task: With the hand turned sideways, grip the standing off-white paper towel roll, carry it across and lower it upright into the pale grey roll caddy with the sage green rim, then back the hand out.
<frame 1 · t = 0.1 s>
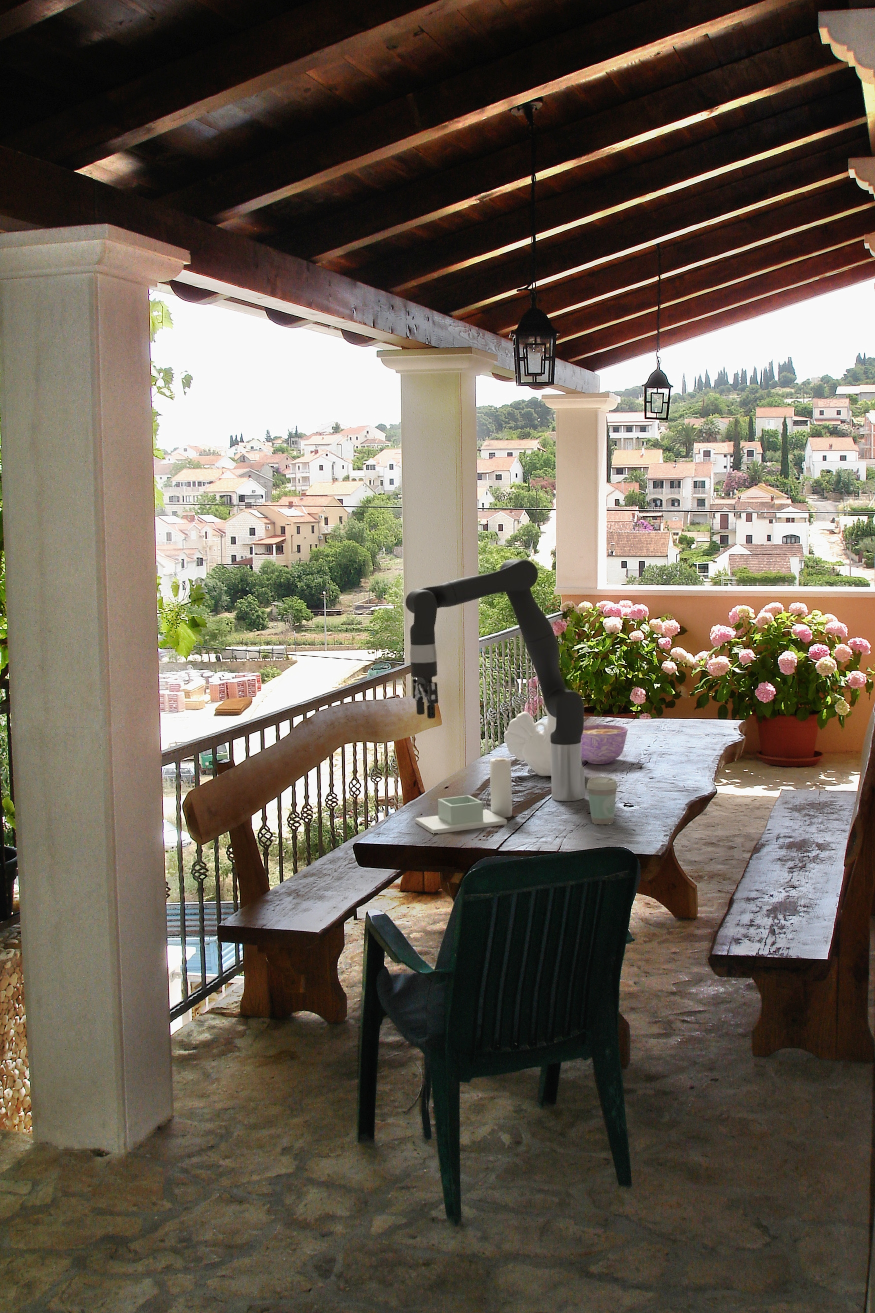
hand: (425, 716, 318), 29 cm above the table, tool pointing down, fingers open, 8 cm apart
roll caddy: (460, 823, 312), on the table
paper roll: (501, 815, 320), on the table
decorative rooster: (543, 774, 374), on the table
bowl of food: (599, 762, 391), on the table
coffee cup: (602, 823, 308), on the table
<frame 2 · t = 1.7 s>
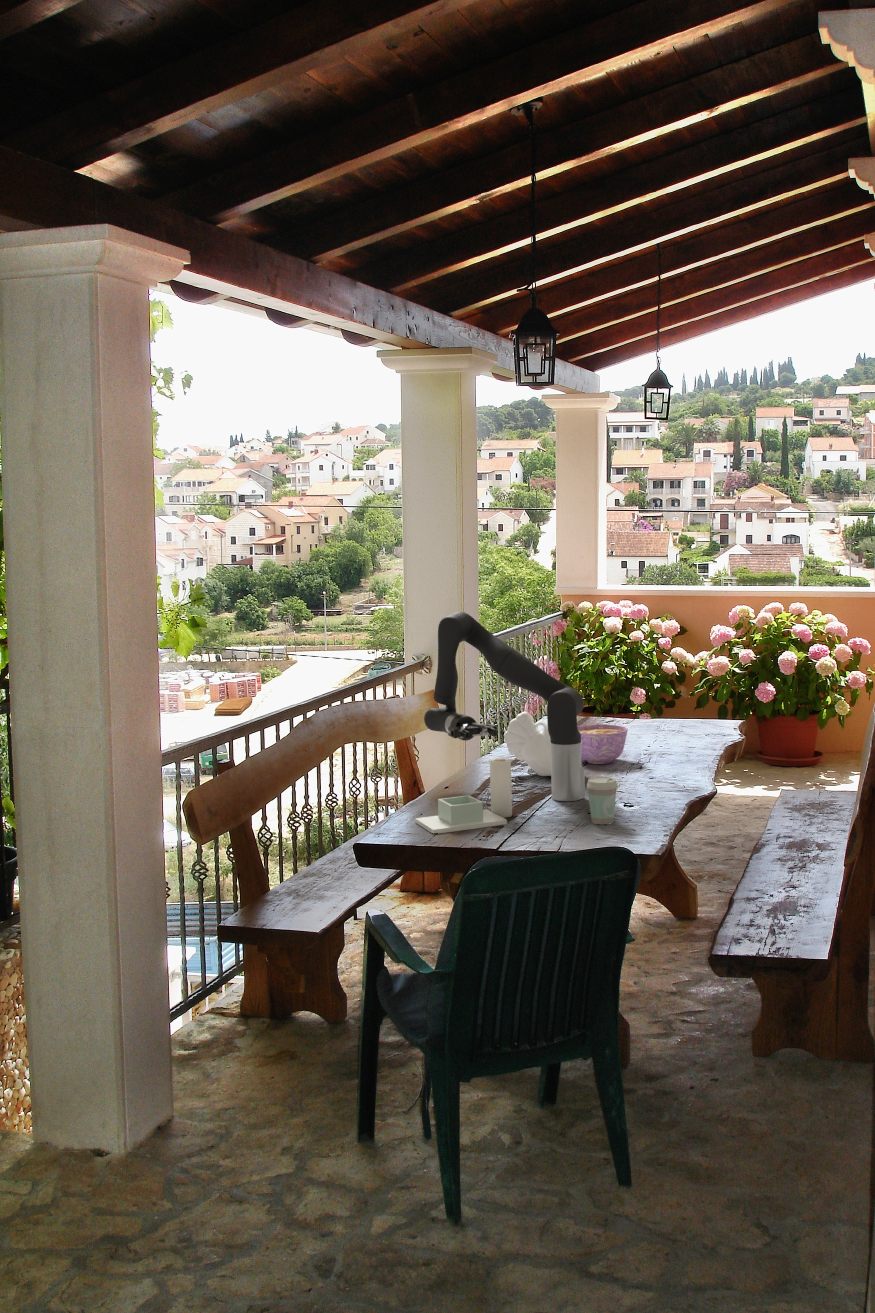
hand: (482, 734, 329), 22 cm above the table, tool horizontal, fingers open, 8 cm apart
nothing on the table moved.
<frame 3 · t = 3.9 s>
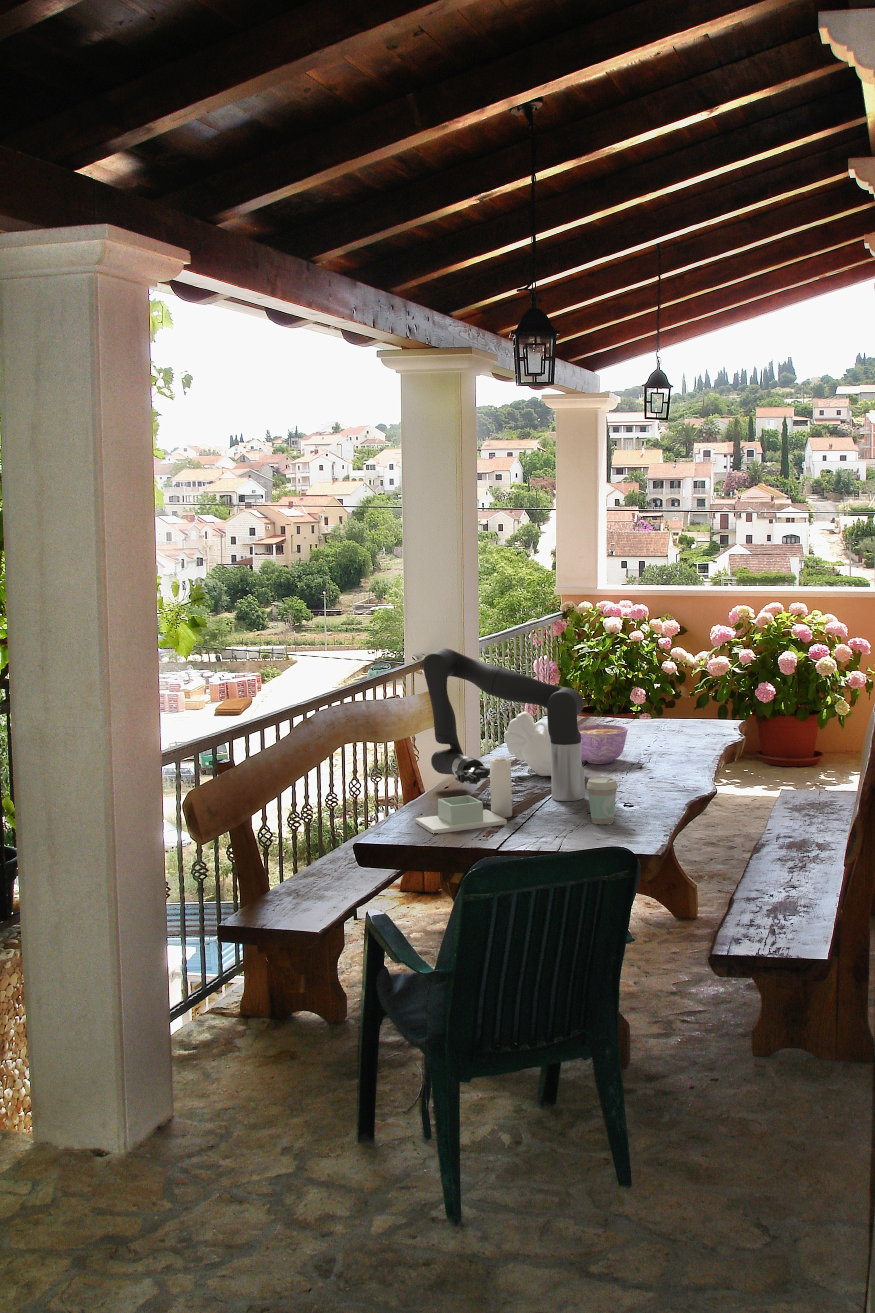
hand: (489, 779, 326), 9 cm above the table, tool horizontal, fingers open, 8 cm apart
nothing on the table moved.
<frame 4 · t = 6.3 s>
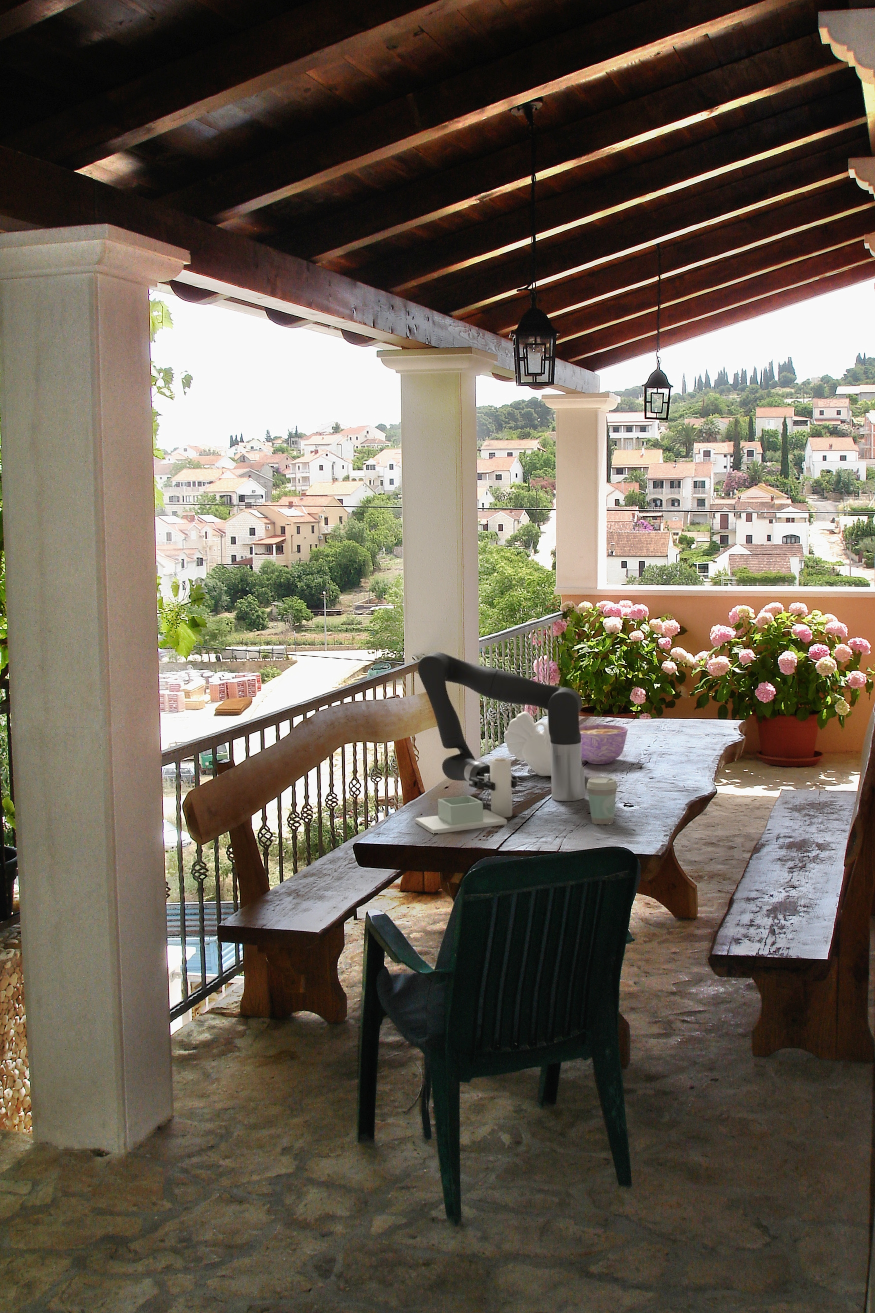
hand: (504, 785, 317), 9 cm above the table, tool horizontal, fingers closed on paper roll, 6 cm apart
paper roll: (501, 815, 320), on the table, touching gripper
everything else where it was.
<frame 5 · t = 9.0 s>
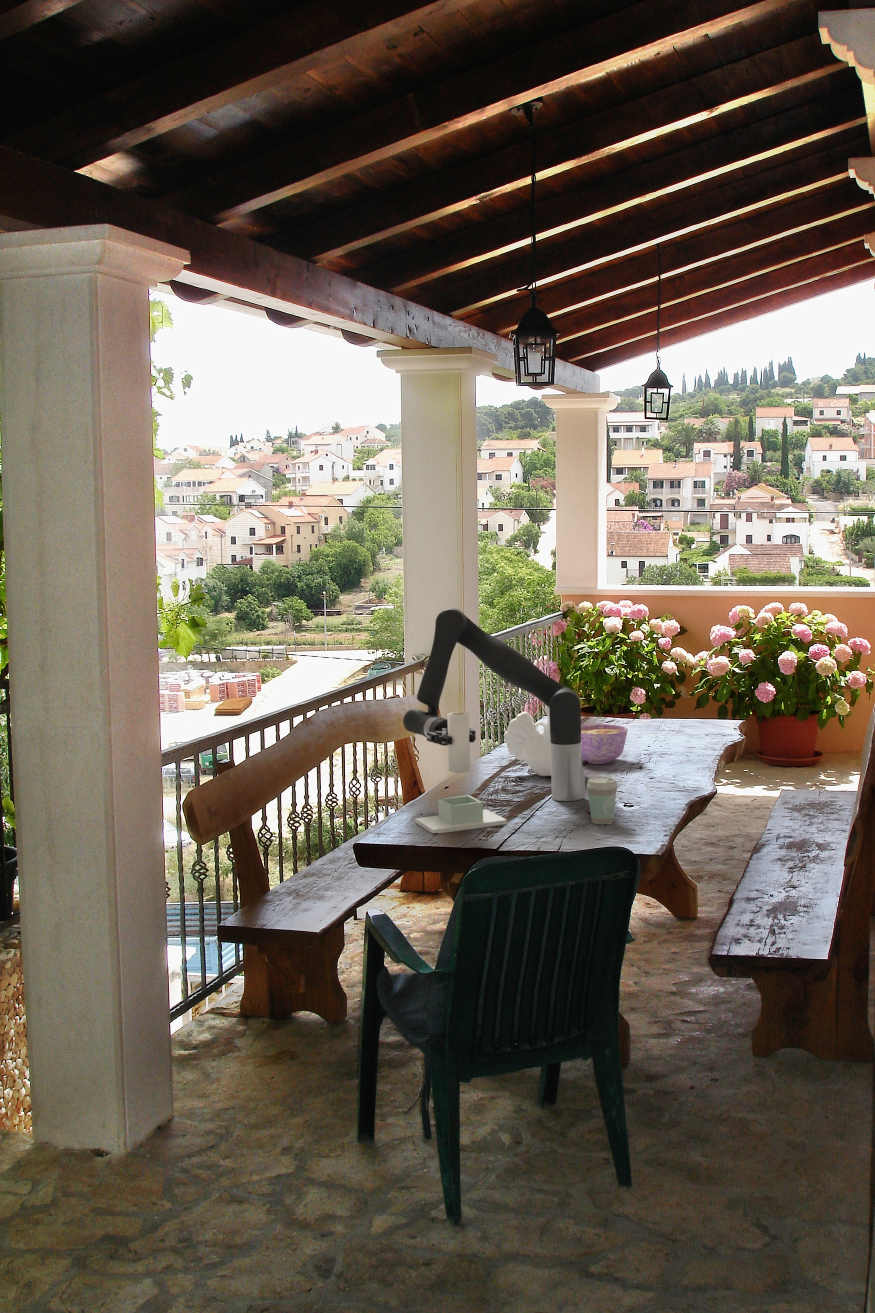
hand: (462, 739, 308), 24 cm above the table, tool horizontal, fingers closed on paper roll, 6 cm apart
paper roll: (459, 770, 311), point 15 cm above the table, touching gripper
everything else where it was.
when the fingers open (12 cm above the table, at t = 12.0 s): paper roll drops 1 cm, resting on roll caddy.
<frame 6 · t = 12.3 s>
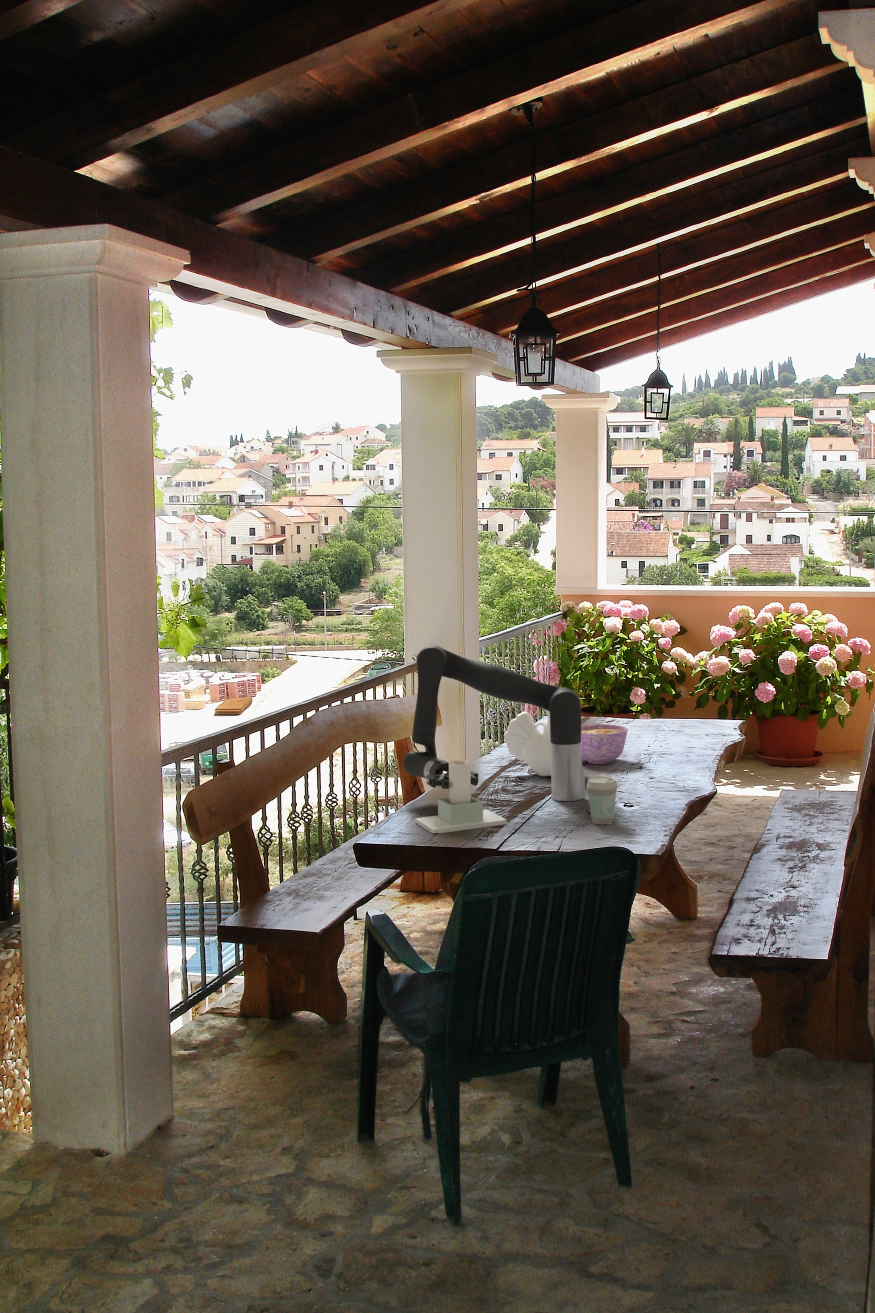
hand: (462, 783, 309), 12 cm above the table, tool horizontal, fingers open, 8 cm apart
paper roll: (460, 818, 312), point 1 cm above the table, touching roll caddy
everything else where it was.
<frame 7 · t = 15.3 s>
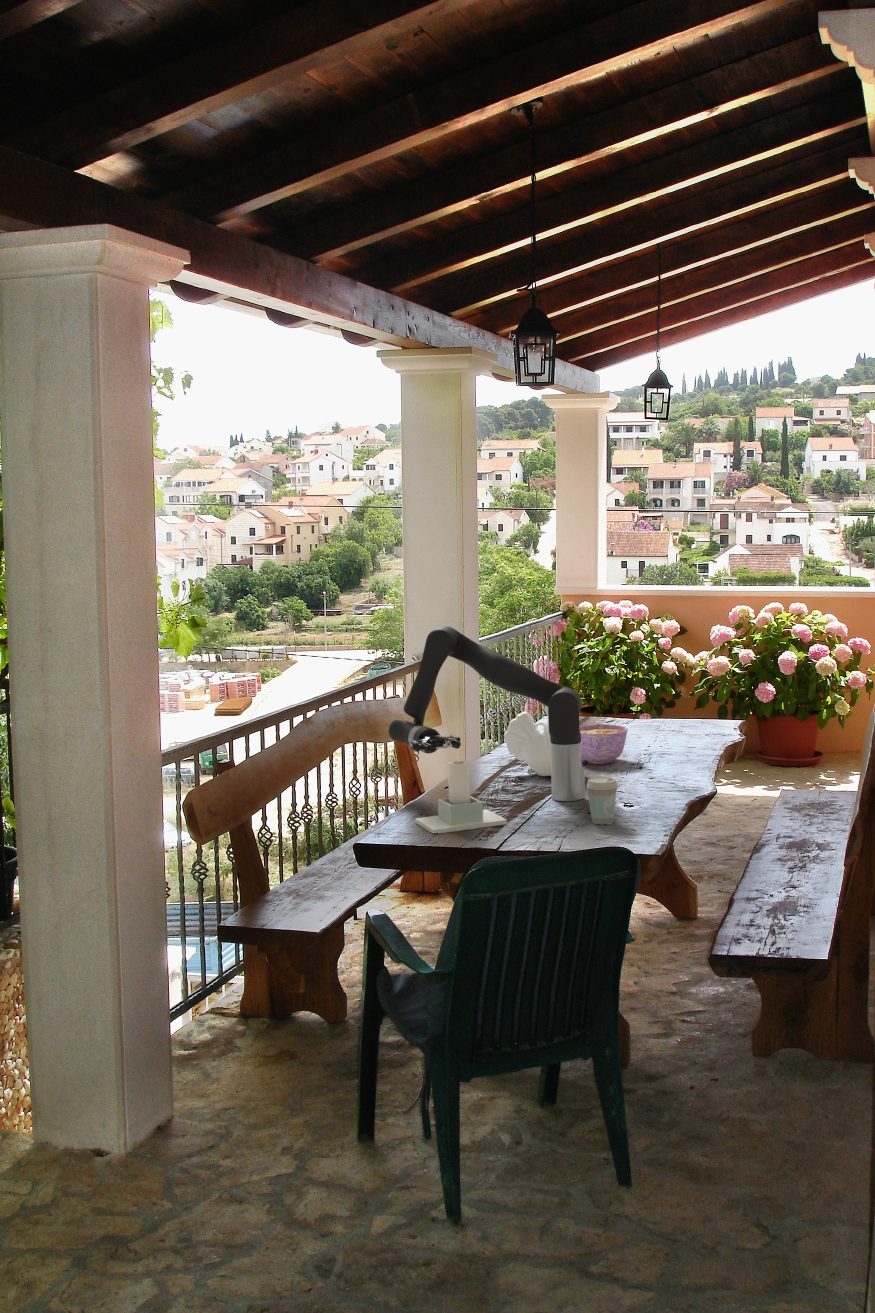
hand: (444, 746, 320), 20 cm above the table, tool horizontal, fingers open, 8 cm apart
nothing on the table moved.
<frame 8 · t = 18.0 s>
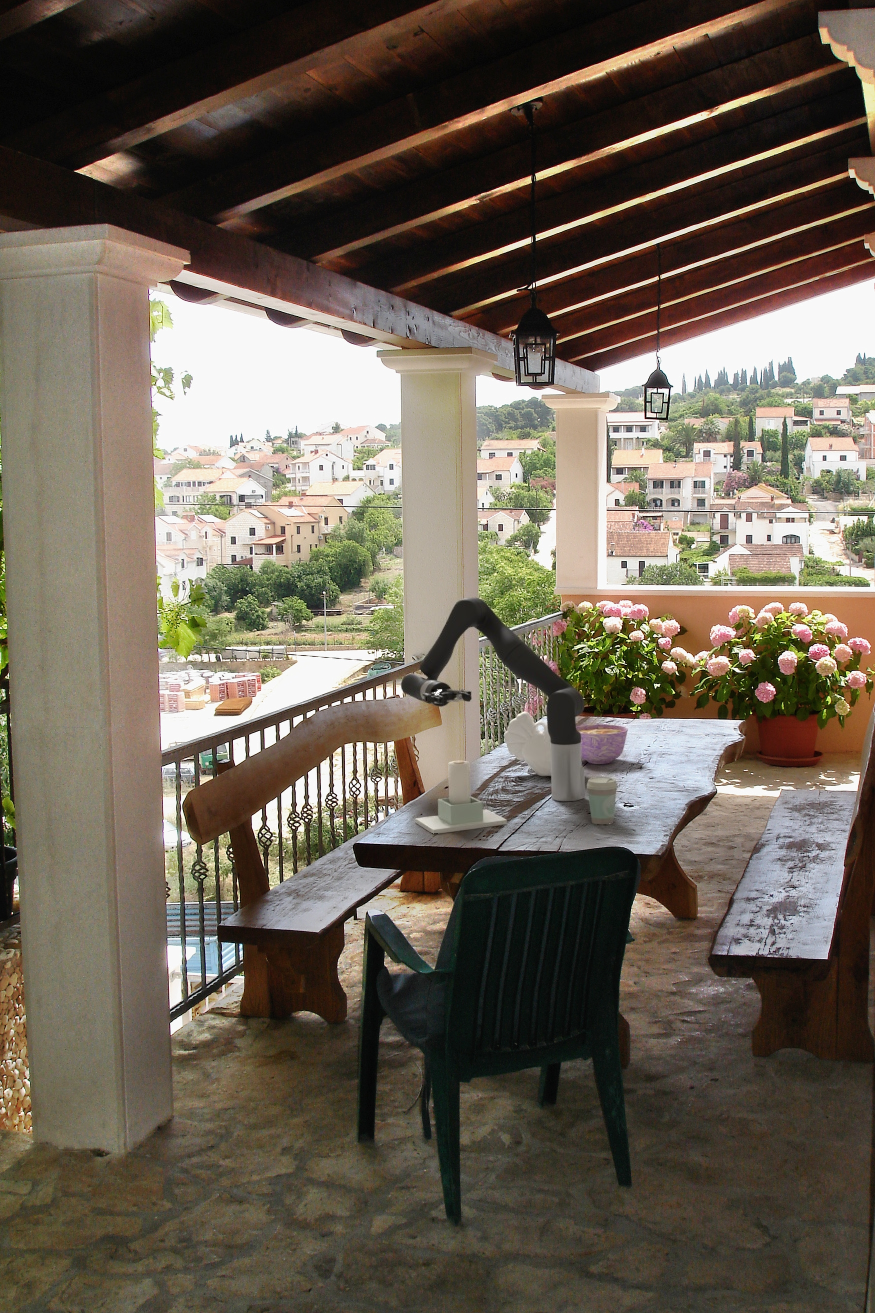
hand: (456, 699, 330), 32 cm above the table, tool horizontal, fingers open, 8 cm apart
nothing on the table moved.
at the end: paper roll 0.2 cm off-centre on the roll caddy, point 1.2 cm above the roll caddy's base; paper roll tilted 0°; the gripper is holding nothing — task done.
